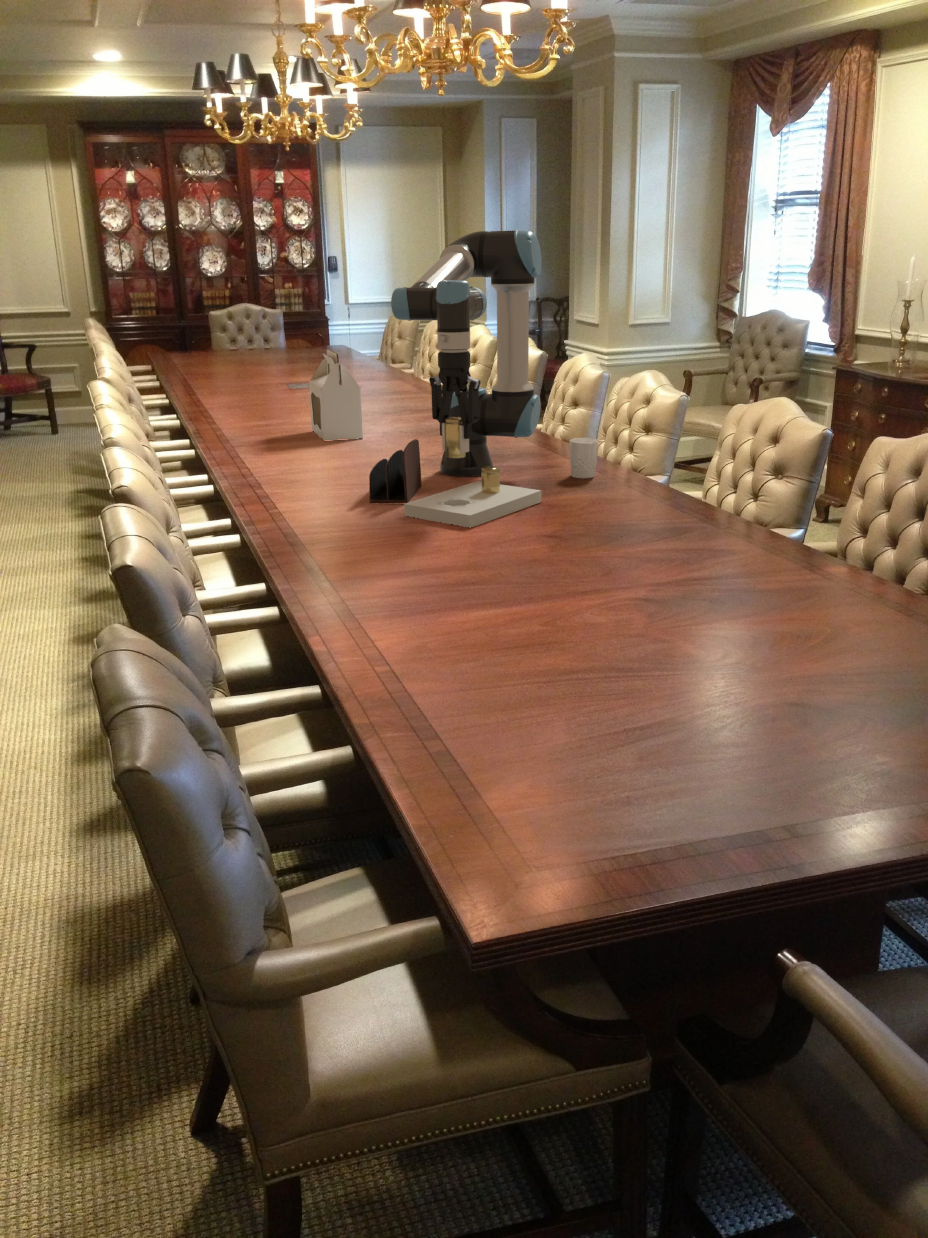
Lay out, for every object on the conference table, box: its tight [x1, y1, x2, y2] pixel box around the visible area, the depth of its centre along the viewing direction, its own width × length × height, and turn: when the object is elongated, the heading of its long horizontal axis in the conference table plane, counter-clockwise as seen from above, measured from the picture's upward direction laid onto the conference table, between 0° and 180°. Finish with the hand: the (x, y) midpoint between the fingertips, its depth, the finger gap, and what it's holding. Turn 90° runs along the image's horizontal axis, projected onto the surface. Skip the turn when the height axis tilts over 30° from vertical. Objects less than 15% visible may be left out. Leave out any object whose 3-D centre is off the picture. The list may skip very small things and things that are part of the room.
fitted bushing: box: [480, 465, 501, 494], centre depth 267 cm, size 5×5×9 cm
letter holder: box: [368, 438, 423, 504], centre depth 276 cm, size 10×20×14 cm, turn 172°
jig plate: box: [403, 480, 542, 529], centre depth 262 cm, size 20×30×3 cm, turn 143°
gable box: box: [308, 349, 364, 441], centre depth 358 cm, size 22×13×28 cm, turn 18°
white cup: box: [569, 437, 599, 479], centre depth 294 cm, size 8×8×10 cm
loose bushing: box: [445, 417, 466, 458], centre depth 251 cm, size 5×5×9 cm
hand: (455, 450), depth 252 cm, fingers closed on loose bushing, 4 cm apart
